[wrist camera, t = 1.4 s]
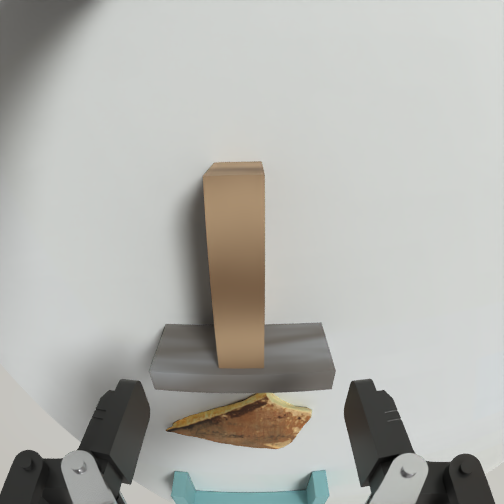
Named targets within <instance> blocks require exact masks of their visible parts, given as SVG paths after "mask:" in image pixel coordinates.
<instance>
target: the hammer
mask: <svg viewBox="0 0 504 504" xmlns="http://www.w3.org/2000/svg"><path fill="white" fill-rule="evenodd" d="M203 189H204V206H205V222H206V236H207V249H208V262H209V274H210V286H211V297H212V308H213V318H214V325H182V324H166V325H165V328H164V331H163V334H162V336H161V339H160V342H159V345H158V348H157V350H156V353H155V356H154V359H153V362H152V365H151V368H150V370H149V373H150V376H151V379H152V382H153V385H154V388H155V389H157V390H169V391H184V392H206V393H277V392H298V391H314V390H326V389H332V385H333V380H334V376H335V367H334V364H333V360H332V357H331V353H330V350H329V347H328V343H327V340H326V337H325V333H324V330H323V327H322V323H301V324H269V325H264V320H265V174H264V170H263V166H262V162H219V163H213V165H212V166H211V167H210V168H209V169H208V171H207V172H206V173H205V174H204V175H203Z"/></svg>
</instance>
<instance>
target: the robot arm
mask: <svg viewBox="0 0 504 504" xmlns="http://www.w3.org/2000/svg"><path fill="white" fill-rule="evenodd" d="M149 418H150V407H149V403H148V401H147V398H146V395H145V392H144V389H143V387H142V384H141V382H140V381H135V380H126V379H121V380H120V381H119V383H118V385H117V387H116V390H115V391H112V390H109V391H108V392H107V393H106V394H105V395H104V396H103V397H102V398H100V401H99V403H98V405H97V407H96V411H95V412H94V414H93V416H92V419H91V421H90V423H89V425H88V427H87V430H86V432H85V434H84V437H83V439H82V441H81V444H80V446H79V448H78V449H77V450H76V451H72V452H70V453H68V454H67V455H66V456H65V457H64V458H62V459H43V458H42V457H41V456H40V455H39V454H38V453H37V452H35V451H32V450H25V451H22V452H20V453H19V454H18V455H17V456H16V457H15V459H14V461H13V464H12V466H11V468H10V471H9V473H8V476H7V479H6V481H5V483H4V486H3V488H2V491H1V494H0V504H127V503H126V501H125V499H124V497H123V495H122V493H121V492H120V487H121V483H126V484H131V482H132V479H133V475H134V471H135V468H136V464H137V460H138V457H139V453H140V450H141V446H142V443H143V439H144V436H145V432H146V429H147V425H148V422H149ZM344 418H345V423H346V427H347V431H348V435H349V439H350V443H351V447H352V451H353V455H354V459H355V464H356V468H357V472H358V477H359V481H360V486H361V487H365V486H370V489H371V494H370V496H369V497H368V499H367V501H366V502H365V504H495V502H494V499H493V496H492V493H491V490H490V487H489V485H488V482H487V479H486V476H485V474H484V471H483V469H482V466H481V464H480V462H479V460H478V459H477V458H476V457H475V456H473V455H470V454H460V455H458V456H456V457H455V458H454V459H453V460H452V461H451V462H429V461H425V460H424V459H423V458H422V457H421V456H419V455H417V454H415V452H414V450H413V448H412V446H411V443H410V440H409V438H408V435H407V433H406V430H405V428H404V425H403V422H402V420H401V419H400V418H401V417H400V415H399V413H398V412H397V408H396V405H395V403H394V400H393V398H392V397H391V396H390V395H389V394H387V393H386V392H385V391H384V390H382V391H376V388H375V385H374V383H373V381H372V380H371V379H365V380H356V381H352V382H351V384H350V387H349V391H348V395H347V399H346V402H345V406H344Z"/></svg>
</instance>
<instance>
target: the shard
mask: <svg viewBox="0 0 504 504" xmlns="http://www.w3.org/2000/svg"><path fill="white" fill-rule="evenodd" d="M311 414H312V410H311V409H309V408H305V407H296V406H293V405H291V404H289V403H287V402H285V401H283V400H281V399H280V398H278V397H277V396H275V395H274V394H273V393H257V394H255V395H254V396H251V397H249V398H247V399H246V400H244V401H241V402H237V403H234V404H230V405H227V406H223V407H219V408H215V409H212V410H208V411H206V412H201V413H198V414H194V415H190V416H188V417H185V418H183V419H181V420H178V421H176V422H175V423H173V426H172V427H170V428H168V429H166V431H167V432H175V433H178V434H182V435H186V436H193V437H198V438H203V439H206V440H211V441H214V442H219V443H225V444H232V445H236V446H246V447H253V448H269V449H279V448H282V447H285V446H286V445H288V444H289V443H291V442H292V441H293V439H294V438H295V437H296V435H297V434H298V433H299V431H300V430H301V429H302V427H303V426H304V425H305V424H306V423H307V422H308V420H309V419H310V418H311V416H312V415H311Z"/></svg>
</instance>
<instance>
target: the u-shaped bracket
mask: <svg viewBox="0 0 504 504" xmlns="http://www.w3.org/2000/svg"><path fill="white" fill-rule="evenodd" d="M171 497H172V498H173V500H174V501H175V503H176V504H325V502H326V501H327V499H328V497H329V490H328V483H327V477H326V471H325V470H324V471H315V472H312V474H311V477H310V480H309V483H308V486H307V489H306V490H299V491H285V492H261V493H233V492H209V491H196V490H195V488H194V485H193V483H192V481H191V479H190V476H189V474H188V472H178V471H175V474H174V480H173V487H172V493H171Z"/></svg>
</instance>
